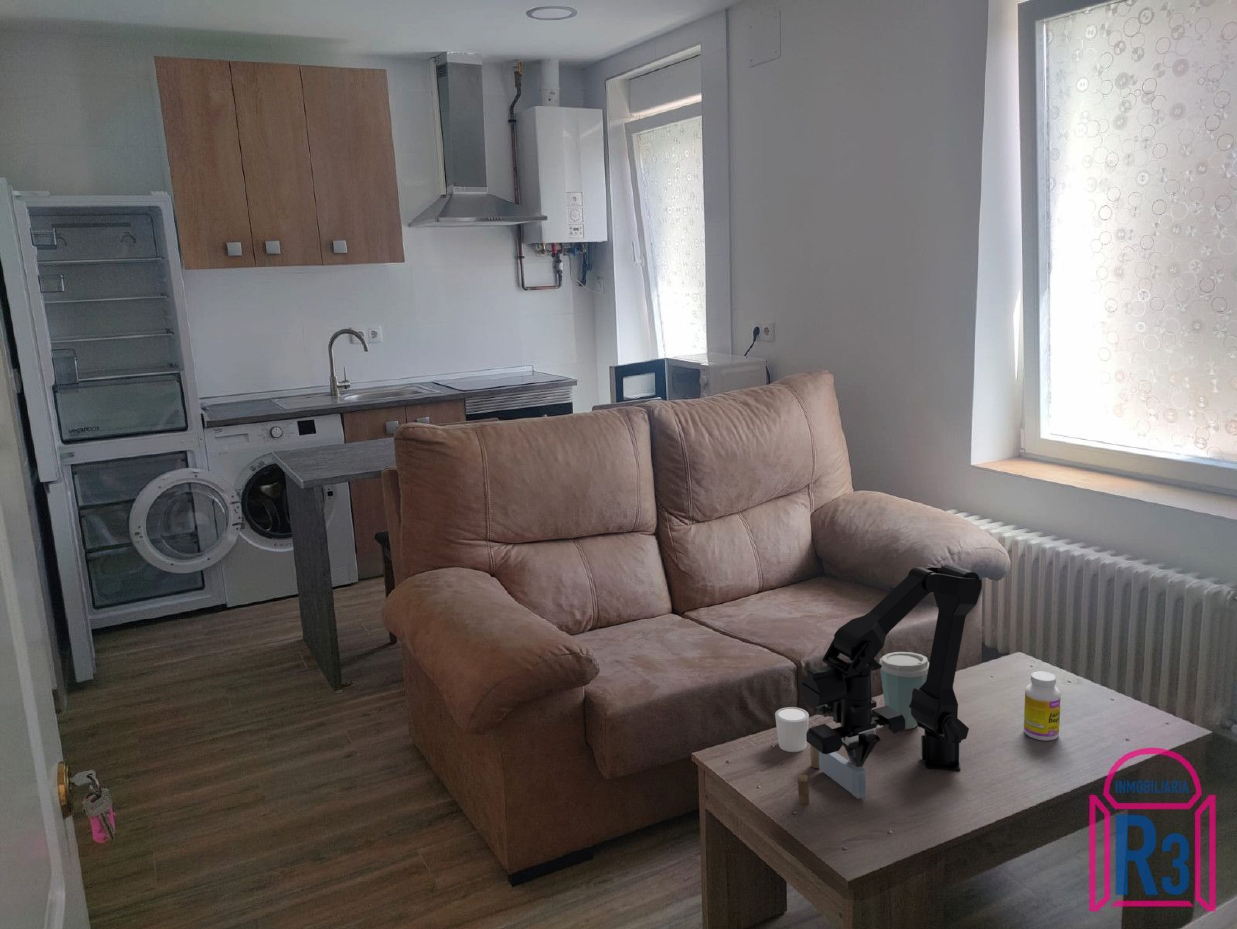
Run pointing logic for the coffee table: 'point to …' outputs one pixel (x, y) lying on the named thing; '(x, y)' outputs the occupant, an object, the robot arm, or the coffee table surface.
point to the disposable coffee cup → (902, 681)
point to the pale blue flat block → (840, 771)
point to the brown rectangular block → (803, 789)
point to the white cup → (792, 728)
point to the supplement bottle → (1042, 707)
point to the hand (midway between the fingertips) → (856, 770)
